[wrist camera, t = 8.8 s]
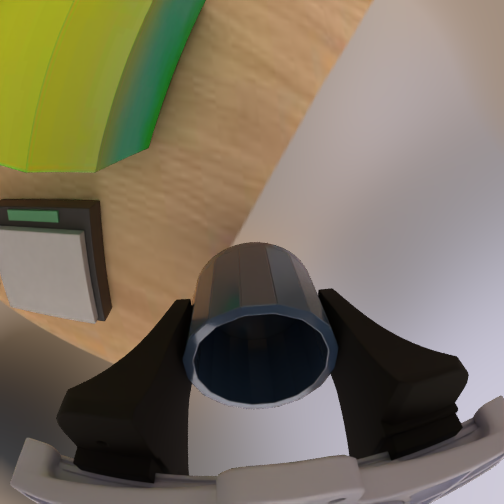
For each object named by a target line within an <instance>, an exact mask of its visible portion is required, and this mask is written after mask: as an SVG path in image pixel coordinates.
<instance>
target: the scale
mask: <svg viewBox="0 0 504 504" xmlns="http://www.w3.org/2000/svg"><path fill="white" fill-rule="evenodd" d="M0 274H1V278H2V281H3V285H4V288H5V291H6V294H7V297H8V300H9V303H10V306H11V307H14V308H18V309H22V310H26V311H31V312H36V313H40V314H45V315H50V316H55V317H60V318H65V319H71V320H76V321H82V322H88V323H94V324H95V323H96V321H97V320H100V321H105V320H106V318H107V316H108V315H109V313H110V311H111V309H112V306H111V300H110V294H109V288H108V281H107V274H106V267H105V258H104V250H103V240H102V229H101V215H100V201H95V200H49V199H2V200H0Z"/></svg>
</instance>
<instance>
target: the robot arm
mask: <svg viewBox="0 0 504 504" xmlns="http://www.w3.org/2000/svg"><path fill="white" fill-rule="evenodd" d="M318 297H319V299H320V302H321V304H322V306H323V309H324V311H325V313H326V316H327V318H328V321H329V323H330V326H331V328H332V330H333V333H334V335H335V338H336V340H337V343H338V345H339V349H338V354H337V359H336V364H335V367H334V369H333V371H332V372H331V376H332V379H333V381H334V384H335V387H336V390H337V393H338V398H339V402H340V406H341V410H342V415H343V420H344V425H345V431H346V436H347V442H348V449H349V456H346V455H337V456H328V457H323V458H316V459H310V460H304V461H297V462H289V463H280V464H270V465H258V466H246V467H238V468H232V469H229V470H227V471H224V472H222V473H220V474H219V475H218V476H189V471H188V408H189V397H190V391H191V385H192V383H191V382H190V381H189V379H188V377H187V374H186V371H185V368H184V364H183V361H182V357H183V351H184V345H185V339H186V333H187V328H188V322H189V317H190V311H191V306H192V305H191V300H190V299H181V300H176V301H175V302H174V303H173V304H172V306H171V307H170V308H169V310H168V311H167V312H166V313H165V315H164V316H163V317H162V318H161V320H160V321H159V322H158V323H157V324H156V326H155V327H154V328H153V329H152V330H151V332H150V333H149V334H148V335H147V336H146V337H145V338H144V339H143V340H142V341H141V342H140V343H139V344H138V345H137V346H136V347H135V348H134V349H133V350H132V351H130V352H129V353H128V354H127V355H126V356H125V357H123V358H122V359H121V360H119V361H118V362H116V363H115V364H114V365H112V366H111V367H110V368H108V369H107V370H105V371H103V372H102V373H100V374H98V375H97V376H95V377H93V378H92V379H90V380H88V381H86V382H83V383H81V384H79V385H77V386H75V387H73V388H70V389H68V391H67V393H66V395H65V397H64V399H63V402H62V404H61V407H60V409H59V412H58V414H57V418H56V419H57V422H58V424H59V426H60V427H61V429H62V430H63V431H64V433H65V434H66V435H68V437H69V438H70V439H71V440H72V441H73V442H74V443H75V444H76V446H77V451H76V454H75V458H74V459H73V458H69V457H66V456H62V455H60V453H59V452H58V451H57V450H56V449H55V448H54V447H52V446H51V445H48V444H46V443H43V442H40V441H37V440H34V439H31V438H26V441H25V443H24V446H23V448H22V451H21V454H20V456H19V459H18V462H17V465H16V468H15V471H14V473H13V477H12V480H11V483H10V484H11V486H12V487H13V488H15V489H16V490H18V491H19V492H21V493H22V494H24V495H25V496H27V497H28V498H30V499H31V500H33V501H34V502H36V503H38V504H429V503H431V502H433V501H435V500H437V499H439V498H441V497H443V496H445V495H447V494H449V493H451V492H453V491H454V490H456V489H458V488H460V487H462V486H463V485H465V484H467V483H468V482H470V481H471V480H474V479H475V478H477V477H478V476H480V475H482V474H483V473H485V472H487V471H488V470H490V469H491V468H493V467H494V466H496V465H497V464H498V463H499V462H500V461H501V460H502V459H503V458H504V398H503V397H502V396H499V397H497V398H495V399H493V400H492V401H490V402H488V403H486V404H484V405H483V406H482V407H481V408H480V409H479V410H478V411H477V412H476V413H475V415H474V417H473V418H471V419H469V420H467V421H465V422H463V423H461V422H460V421H459V419H458V417H457V415H456V412H457V411H458V407H457V406H456V404H455V402H456V400H457V398H458V397H459V395H460V394H461V392H462V391H463V389H464V387H465V385H466V383H467V380H468V376H469V375H468V372H467V370H466V369H465V367H464V366H463V365H462V363H461V362H460V360H459V359H458V357H457V356H452V355H448V354H445V353H440V352H437V351H433V350H430V349H427V348H424V347H421V346H419V345H417V344H414V343H412V342H410V341H407V340H405V339H403V338H401V337H399V336H397V335H395V334H393V333H392V332H390V331H388V330H386V329H385V328H383V327H381V326H380V325H378V324H377V323H375V322H374V321H373V320H371V319H370V318H368V317H367V316H366V315H364V314H363V313H362V312H360V311H359V310H358V309H356V308H355V307H354V306H353V305H351V304H350V303H349V302H348V301H347V300H345V299H344V298H343V297H342V296H341V295H340V294H338V293H337V292H336V291H335V290H333V289H321V290H319V292H318Z"/></svg>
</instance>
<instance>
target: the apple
mask: <svg viewBox="0 0 504 504" xmlns="http://www.w3.org/2000/svg"><path fill="white" fill-rule="evenodd" d="M205 1H206V0H0V165H2V166H5V167H9V168H12V169H15V170H19V171H22V172H94V173H95V172H97V171H99V170H101V169H103V168H105V167H107V166H109V165H112V164H114V163H116V162H118V161H120V160H122V159H125V158H127V157H129V156H131V155H133V154H136V153H138V152H140V151H143V150H145V149H147V148H149V145H150V141H151V138H152V135H153V131H154V128H155V125H156V122H157V119H158V116H159V113H160V110H161V107H162V104H163V101H164V98H165V95H166V92H167V89H168V87H169V84H170V81H171V79H172V76H173V73H174V71H175V68H176V66H177V63H178V61H179V58H180V56H181V53H182V51H183V48H184V46H185V44H186V41H187V39H188V37H189V35H190V32H191V30H192V28H193V26H194V24H195V21H196V19H197V17H198V15H199V13H200V11H201V9H202V7H203V5H204V3H205Z"/></svg>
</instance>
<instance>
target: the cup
mask: <svg viewBox="0 0 504 504" xmlns="http://www.w3.org/2000/svg"><path fill="white" fill-rule="evenodd" d="M338 349H339V345H338V343H337V340H336V338H335V335H334V333H333V330H332V328H331V326H330V323H329V321H328V318H327V316H326V313H325V311H324V309H323V306H322V304H321V302H320V299H319V297H318V295H317V292H316V290H315V287H314V285H313V283H312V280H311V278H310V276H309V274H308V271H307V269H306V268H305V266H304V265H303V263H302V262H301V261H300V260H299V259H298V258H297V257H296V256H295V255H294V254H292V253H291V252H289V251H287V250H286V249H284V248H281V247H279V246H276V245H272V244H268V243H260V242H254V243H253V242H251V243H243V244H239V245H235V246H232V247H230V248H227V249H225V250H223V251H221V252H220V253H218V254H217V255H215V256H214V257H213V258H212V259H211V260H210V261H209V262H208V263H207V264H206V265H205V266H204V268H203V269H202V271H201V273H200V275H199V277H198V280H197V284H196V288H195V292H194V295H193V300H192V306H191V311H190V317H189V322H188V328H187V333H186V339H185V345H184V351H183V357H182V361H183V364H184V368H185V371H186V374H187V377H188V379H189V381H190V382H191V383H192V384H193V385H194V386H195V387H196V388H197V389H198V390H199V391H200V392H201V393H202V394H203V395H205V396H207V397H209V398H211V399H213V400H215V401H217V402H219V403H222V404H224V405H227V406H233V407H239V408H246V409H260V408H273V407H276V406H277V407H279V406H282V405H285V404H288V403H290V402H293V401H297V400H299V399H301V398H303V397H305V396H306V395H308V394H309V393H311V392H312V391H314V390H315V389H317V388H318V387H320V386H321V385H322V384H323V383H324V381H325V380H326V379H327V377H328V376H329V375H330V373H331V372H332V371H333V369H334V367H335V364H336V359H337V354H338Z"/></svg>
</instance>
